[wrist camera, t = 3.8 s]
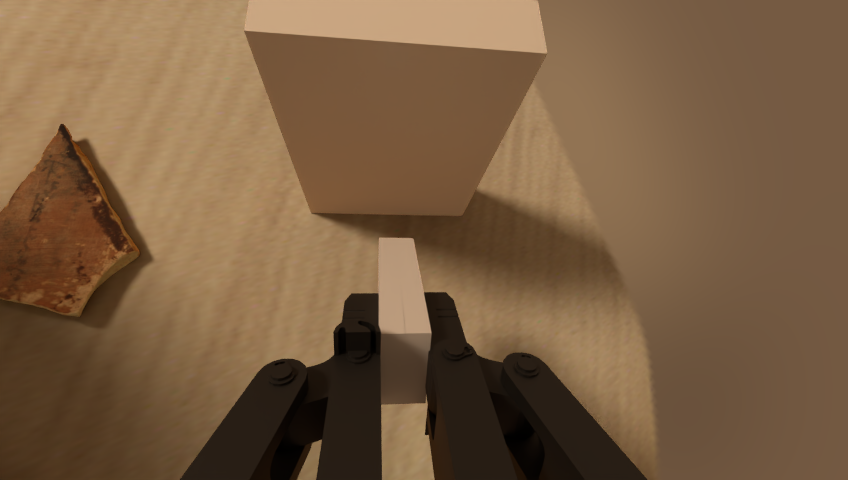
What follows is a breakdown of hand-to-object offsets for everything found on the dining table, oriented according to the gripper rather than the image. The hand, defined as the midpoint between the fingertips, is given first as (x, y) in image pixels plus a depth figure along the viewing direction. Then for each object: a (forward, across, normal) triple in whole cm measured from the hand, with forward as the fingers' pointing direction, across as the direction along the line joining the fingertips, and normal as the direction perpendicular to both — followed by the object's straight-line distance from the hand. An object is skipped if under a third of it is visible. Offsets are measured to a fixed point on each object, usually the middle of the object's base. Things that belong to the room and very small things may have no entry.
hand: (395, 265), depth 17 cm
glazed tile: (+10, 0, 0) cm, 10 cm away
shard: (+8, -20, -3) cm, 22 cm away
